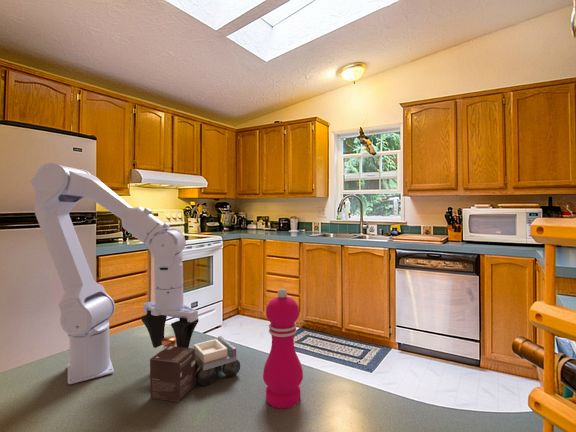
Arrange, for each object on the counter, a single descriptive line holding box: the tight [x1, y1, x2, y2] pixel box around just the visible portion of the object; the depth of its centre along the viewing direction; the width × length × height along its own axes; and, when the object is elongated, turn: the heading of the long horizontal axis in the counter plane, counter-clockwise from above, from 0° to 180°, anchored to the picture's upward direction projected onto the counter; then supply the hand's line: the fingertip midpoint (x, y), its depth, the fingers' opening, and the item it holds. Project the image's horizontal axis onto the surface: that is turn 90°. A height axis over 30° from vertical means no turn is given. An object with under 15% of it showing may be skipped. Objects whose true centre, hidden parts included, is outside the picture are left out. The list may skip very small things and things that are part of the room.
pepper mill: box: [262, 288, 304, 409], centre depth 58 cm, size 7×7×20 cm
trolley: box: [195, 335, 241, 387], centre depth 67 cm, size 8×9×6 cm
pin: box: [161, 335, 177, 350], centre depth 68 cm, size 3×3×7 cm
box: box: [149, 346, 197, 403], centre depth 60 cm, size 6×6×7 cm
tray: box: [193, 338, 227, 363], centre depth 66 cm, size 6×5×2 cm
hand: (170, 349), depth 68 cm, fingers open, 7 cm apart
